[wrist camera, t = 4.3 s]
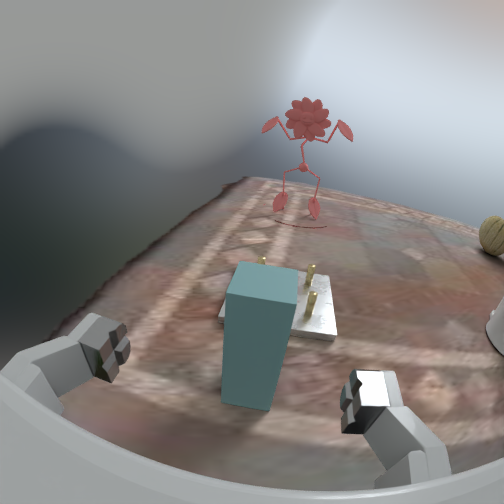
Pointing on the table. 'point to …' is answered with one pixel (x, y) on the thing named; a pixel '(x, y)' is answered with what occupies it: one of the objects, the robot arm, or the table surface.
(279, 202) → the figurine
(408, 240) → the table surface
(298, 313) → the post plate
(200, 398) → the table surface
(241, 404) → the teal block
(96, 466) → the robot arm
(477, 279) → the table surface
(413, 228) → the table surface
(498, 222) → the cantaloupe
